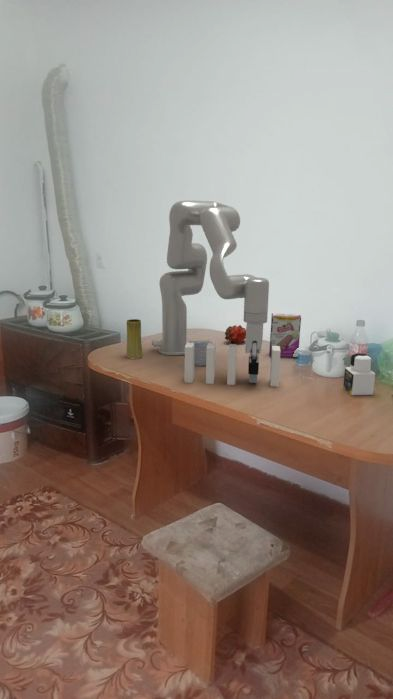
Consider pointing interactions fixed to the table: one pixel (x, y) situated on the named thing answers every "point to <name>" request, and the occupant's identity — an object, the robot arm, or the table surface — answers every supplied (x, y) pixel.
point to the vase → (134, 338)
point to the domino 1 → (189, 362)
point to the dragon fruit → (235, 334)
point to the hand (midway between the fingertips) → (253, 370)
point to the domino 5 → (275, 366)
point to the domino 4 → (251, 376)
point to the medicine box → (200, 352)
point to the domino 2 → (210, 363)
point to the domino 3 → (231, 364)
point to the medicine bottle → (359, 375)
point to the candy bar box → (285, 333)
